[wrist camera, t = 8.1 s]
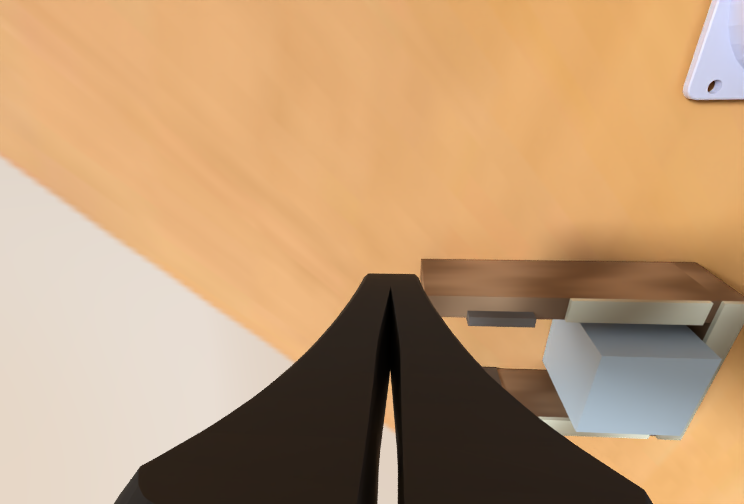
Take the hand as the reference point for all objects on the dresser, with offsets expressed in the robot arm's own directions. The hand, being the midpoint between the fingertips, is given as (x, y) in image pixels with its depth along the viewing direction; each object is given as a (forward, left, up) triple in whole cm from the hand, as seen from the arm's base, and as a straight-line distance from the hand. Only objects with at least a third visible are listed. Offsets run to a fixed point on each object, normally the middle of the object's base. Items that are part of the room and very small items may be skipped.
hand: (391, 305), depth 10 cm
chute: (-9, +9, -10) cm, 16 cm away
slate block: (-12, +9, -10) cm, 18 cm away
